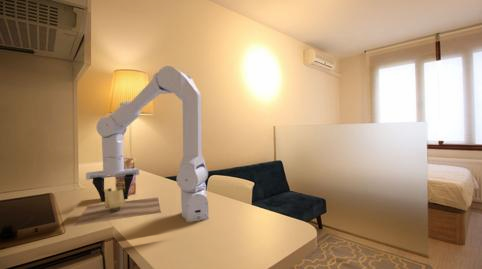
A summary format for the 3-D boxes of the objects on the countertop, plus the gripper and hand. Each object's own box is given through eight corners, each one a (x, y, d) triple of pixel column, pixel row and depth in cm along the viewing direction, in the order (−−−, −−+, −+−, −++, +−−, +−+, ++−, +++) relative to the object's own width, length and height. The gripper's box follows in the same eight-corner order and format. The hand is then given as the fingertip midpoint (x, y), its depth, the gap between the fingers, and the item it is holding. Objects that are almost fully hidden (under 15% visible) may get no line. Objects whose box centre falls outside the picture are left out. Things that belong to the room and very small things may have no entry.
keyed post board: (161, 217, 72) (160, 195, 72) (74, 230, 64) (73, 206, 63) (158, 201, 88) (157, 183, 87) (88, 210, 79) (87, 191, 79)
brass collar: (125, 206, 73) (124, 190, 73) (103, 209, 71) (102, 193, 71) (125, 201, 78) (124, 186, 78) (105, 204, 76) (104, 188, 75)
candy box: (127, 201, 88) (125, 160, 87) (115, 202, 88) (113, 160, 87) (137, 194, 97) (135, 157, 96) (126, 195, 97) (124, 157, 96)
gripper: (138, 153, 81) (140, 193, 81) (88, 156, 75) (90, 199, 76) (138, 156, 74) (140, 199, 75) (83, 159, 69) (85, 206, 69)
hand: (115, 199), depth 75 cm, fingers closed on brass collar, 6 cm apart
